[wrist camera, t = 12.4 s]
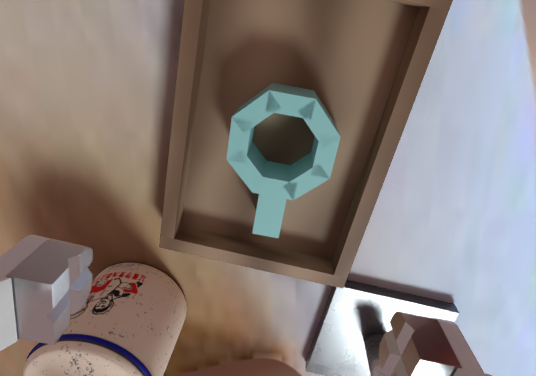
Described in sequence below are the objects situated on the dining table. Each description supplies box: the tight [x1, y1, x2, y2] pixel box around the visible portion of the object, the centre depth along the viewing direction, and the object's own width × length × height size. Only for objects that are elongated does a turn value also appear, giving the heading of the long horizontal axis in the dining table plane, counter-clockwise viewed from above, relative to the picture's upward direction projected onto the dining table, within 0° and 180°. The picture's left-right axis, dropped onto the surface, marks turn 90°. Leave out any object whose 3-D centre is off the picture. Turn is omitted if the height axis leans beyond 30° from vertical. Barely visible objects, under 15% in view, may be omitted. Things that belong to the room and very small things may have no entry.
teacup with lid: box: [23, 263, 187, 376], centre depth 28 cm, size 12×9×12 cm
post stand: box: [306, 280, 459, 376], centre depth 29 cm, size 10×10×6 cm
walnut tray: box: [159, 0, 453, 288], centre depth 24 cm, size 14×20×2 cm
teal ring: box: [226, 83, 341, 238], centre depth 24 cm, size 10×6×3 cm
